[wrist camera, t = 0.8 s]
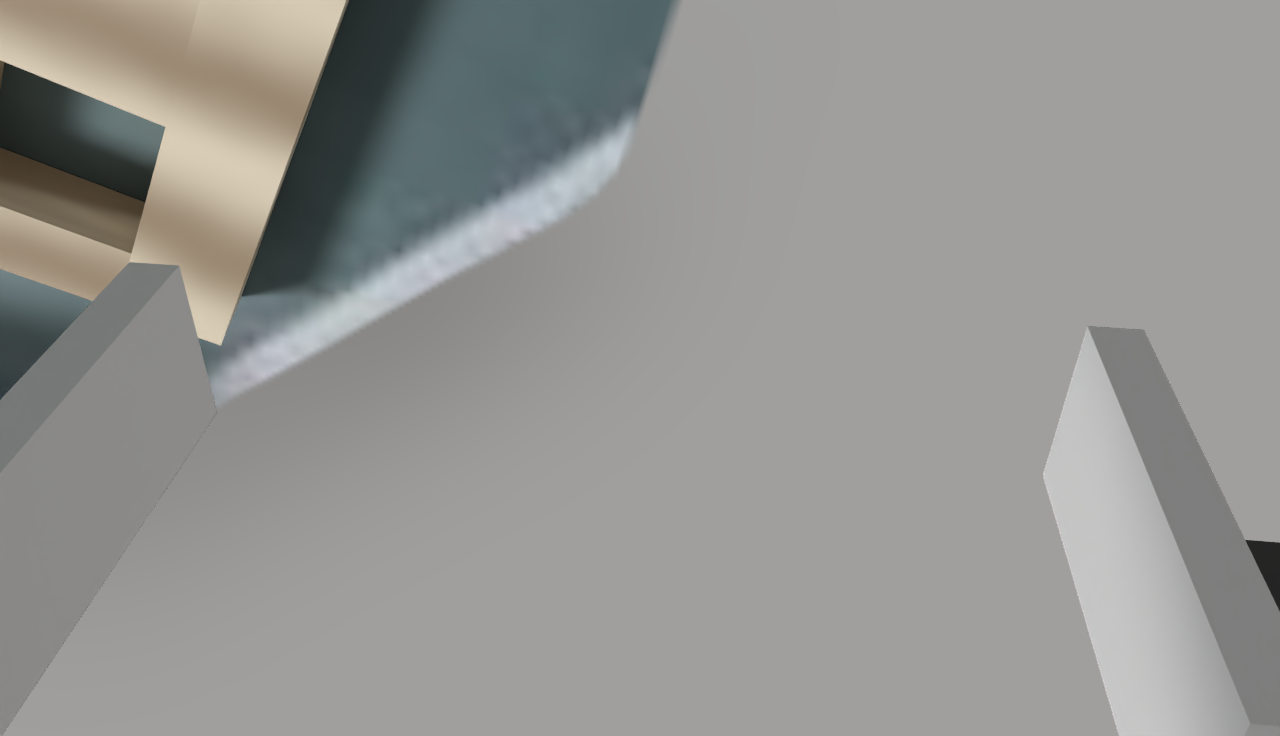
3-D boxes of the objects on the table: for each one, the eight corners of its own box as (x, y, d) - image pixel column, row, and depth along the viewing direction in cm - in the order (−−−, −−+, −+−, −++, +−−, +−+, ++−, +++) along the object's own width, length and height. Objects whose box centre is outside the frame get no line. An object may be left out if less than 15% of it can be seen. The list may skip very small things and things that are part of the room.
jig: (-82, -578, 28) (-220, -560, 23) (451, -279, 32) (420, -217, 28) (-131, 162, 42) (-222, 259, 38) (240, 297, 46) (198, 398, 42)
